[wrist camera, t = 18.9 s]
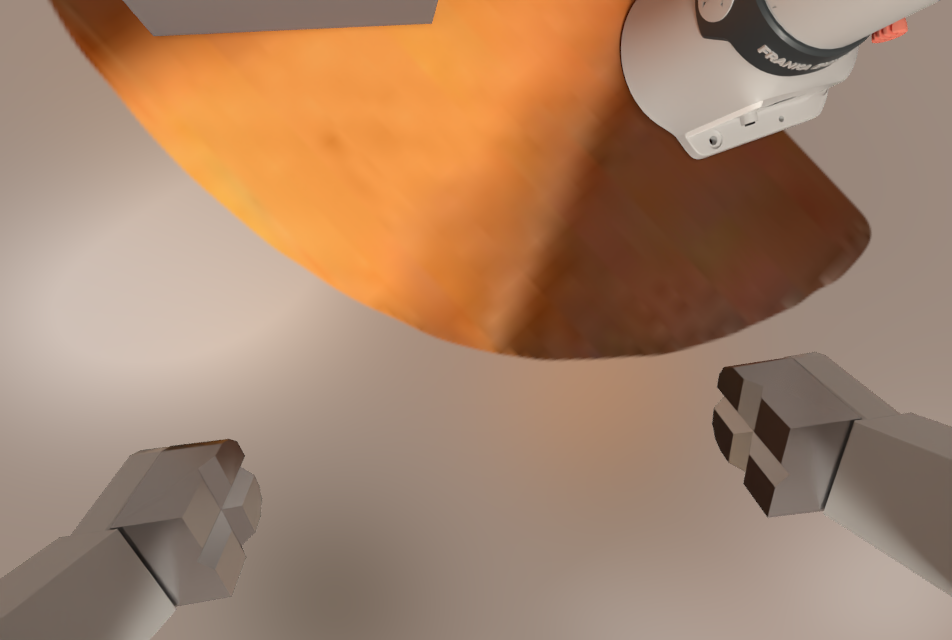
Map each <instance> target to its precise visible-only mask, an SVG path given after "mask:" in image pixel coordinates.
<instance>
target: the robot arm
mask: <svg viewBox="0 0 952 640" xmlns="http://www.w3.org/2000/svg"><path fill="white" fill-rule="evenodd" d="M938 1H940V0H636V1H635V3H634V4H633V6H632V8H631V10H630V12H629V14H628V16H627V19H626V22H625V25H624V29H623V33H622V40H621V60H622V67H623V72H624V76H625V79H626V82H627V85H628V87H629V90H630V92H631V94H632V96H633V97H634V99H635V101H636V102H637V104H638V105H639V107H640V108H641V109H642V110H643V112H644V113H645V114H646V115H647V116H648V117H649V118H650V119H652V120H653V121H654V122H655V123H657V124H658V125H659V126H661V127H663V128H664V129H666V130H667V131H669V132H670V133H672V134H673V135H674V136H675V137H676V138H677V139H678V141H679V142H680V144H681V145H682V146H683V148H684V149H685V150H686V152H687V153H688V154H689V155H690V156H691V157H693V158H695V159H703V158H706V157H708V156H711V155H714V154H717V153H720V152H723V151H725V150H728V149H731V148H734V147H737V146H739V145H742V144H745V143H748V142H751V141H754V140H756V139H759V138H762V137H765V136H768V135H770V134H773V133H776V132H779V131H782V130H785V129H787V128H790V127H793V126H796V125H799V124H801V123H804V122H807V121H809V120H811V119H813V118H815V117H817V116H818V115H819V114H820V113H821V111H822V109H823V106H824V104H825V101H826V98H827V94H828V89H829V87H831V86H834V85H836V84H838V83H841V82H842V81H844V80H845V79H846V78H847V77H848V76H849V74H850V73H851V71H852V69H853V66H854V64H855V61H856V58H857V53H858V48H859V45H860V44H861V43H862V42H863V41H865V40H866V39H867V38H868V37H869V35H870V34H872V43H880V42H885V41H889V40H892V39H894V38H897V37H899V36H901V35H903V34H905V33H906V32H907V31H908V29H907V22H906V19H905V17H907V16H909V15H911V14H913V13H915V12H917V11H919V10H921V9H923V8H925V7H928V6H930V5H932V4H934V3H936V2H938ZM710 139H711V140H712V144H710V141H709V140H710ZM717 388H718V389H719V390H720V391H721V392H722V394H723V395H724V397H723V398H722V399H721V400H720V402H719V403H718V404H717V405H716V406H715V407H714V411H713V421H712V425H713V430H714V435H715V440H716V442H717V444H718V446H719V449H720V451H721V452H722V454H723V455H724V457H725V458H726V460H727V461H728V462H729V463H730V464H732V465H734V466H736V467H737V468H739V469H741V470H743V471H745V477H744V483H743V484H744V485H745V487H746V488H747V489H748V491H749V492H750V494H751V495H752V496H753V498H754V499H755V501H756V502H757V503H758V505H759V506H760V507H761V509H762V510H763V512H764V513H765V514H766V516H767V517H777V516H785V515H792V514H801V513H810V512H818V511H824V512H823V514H824V515H826V516H827V517H829V518H830V519H832V520H833V521H835V522H837V523H838V524H840V525H841V526H843V527H844V528H846V529H847V530H849V531H850V532H852V533H854V534H855V535H857V536H858V537H860V538H861V539H863V540H864V541H866V542H868V543H869V544H871V545H872V546H874V547H875V548H877V549H878V550H880V551H881V552H883V553H885V554H886V555H888V556H889V557H891V558H892V559H894V560H895V561H897V562H899V563H900V564H902V565H903V566H905V567H906V568H908V569H910V570H911V571H913V572H914V573H916V574H917V575H919V576H920V577H922V578H923V579H925V580H927V581H928V582H930V583H931V584H933V585H934V586H936V587H937V588H939V589H940V590H942V591H943V592H945V593H947V594H948V595H950V596H951V597H952V427H951V426H948V425H945V424H942V423H939V422H937V421H934V420H931V419H928V418H925V417H922V416H919V415H916V414H914V413H905V414H900V413H899V412H897V411H896V410H895V409H894V408H892V407H891V406H890V405H889V404H887V403H886V402H885V401H883V400H882V399H881V398H880V397H878V396H877V395H876V394H874V393H873V392H871V390H869V389H868V388H867V387H866V386H864V385H863V384H862V383H860V382H859V381H858V380H857V379H855V378H854V377H853V376H852V375H850V374H849V373H847V372H846V371H845V370H844V369H843V368H841V367H840V366H839V365H837V364H836V363H835V362H833V361H832V360H831V359H830V358H829V357H827V356H826V355H823V354H820V353H817V352H812V353H806V354H800V355H794V356H788V357H784V358H782V359H774V360H768V361H762V362H754V363H748V364H741V365H734V366H728V367H724V368H723V369H722V371H721V373H720V374H719V378H718V385H717ZM244 457H245V455H244V453H243V451H242V449H241V448H240V446H239V444H238V442H237V441H234V440H231V439H224V440H216V441H208V442H199V443H191V444H183V445H175V446H170V447H162V448H154V449H146V450H140V451H138V452H136V453H134V454H132V455H130V456H129V458H128V459H127V460H126V462H125V463H124V464H123V466H122V467H121V468H120V470H119V471H118V472H117V474H116V475H115V477H114V478H113V479H112V481H111V482H110V483H109V485H108V486H107V487H106V488H105V490H104V491H103V492H102V494H101V495H100V496H99V498H98V499H97V500H96V502H95V503H94V505H93V506H92V507H91V509H90V510H89V511H88V513H87V514H86V515H85V517H84V518H83V519H82V521H81V522H80V523H79V525H78V526H77V527H76V529H75V530H74V531H73V533H72V534H71V535H70V536H66V537H59V538H58V539H57V540H55V541H54V542H52V543H51V544H49V545H48V546H47V547H45V548H44V549H42V550H41V551H40V552H38V553H37V554H35V555H34V556H32V557H31V558H29V559H28V560H27V561H25V562H24V563H23V564H21V565H20V566H18V567H17V568H15V569H14V570H12V571H11V572H10V573H8V574H7V575H5V576H4V577H2V578H1V579H0V640H150V639H151V638H152V637H153V636H154V635H155V634H156V632H157V631H158V630H159V629H160V628H161V627H162V625H163V624H164V623H165V622H166V621H167V620H168V619H169V618H170V616H171V615H172V614H173V613H174V612H175V611H176V606H182V605H187V604H193V603H199V602H204V601H210V600H216V599H221V598H227V597H232V595H233V592H234V589H235V586H236V584H237V581H238V578H239V576H240V573H241V570H242V568H243V565H244V562H245V559H246V555H245V553H244V550H243V548H242V545H243V544H244V543H245V542H246V541H247V540H248V539H249V538H250V537H251V536H252V535H253V534H254V533H255V532H256V529H257V526H258V523H259V520H260V517H261V505H262V497H261V492H260V487H259V484H258V482H257V480H256V477H255V476H254V475H253V474H252V473H250V472H249V471H247V470H245V469H244V468H242V467H241V464H242V462H243V459H244Z"/></svg>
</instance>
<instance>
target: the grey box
mask: <svg viewBox="0 0 952 640" xmlns="http://www.w3.org/2000/svg"><path fill="white" fill-rule="evenodd" d="M123 1H124V2H125V3H126V4H127V6H128V7H129V8H130V9H131V10H132V12H133V13H134V14H135V15H136V16H137V17H138V19H139V20H140V21H141V22H142V23H143V24H144V26H145V27H146V28H147V29H148V30H149V31H150V33H151V34H152V35H153V36H167V35H189V34H211V33H233V32H255V31H277V30H298V29H320V28H342V27H364V26H386V25H408V24H430V23H432V21H433V17H434V14H435V10H436V6H437V2H438V0H123Z"/></svg>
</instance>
